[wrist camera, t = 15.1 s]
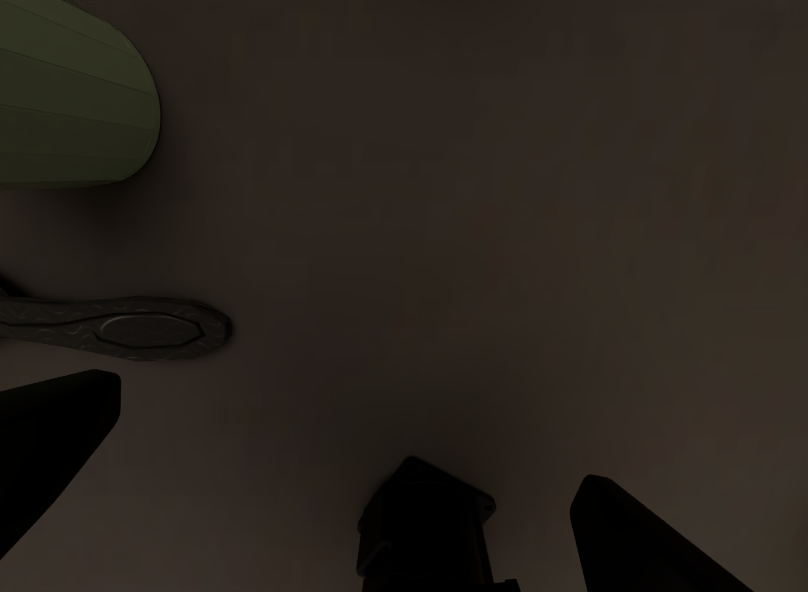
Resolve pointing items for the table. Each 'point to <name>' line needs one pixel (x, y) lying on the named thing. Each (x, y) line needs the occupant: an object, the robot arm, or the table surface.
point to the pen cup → (71, 98)
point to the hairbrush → (117, 325)
